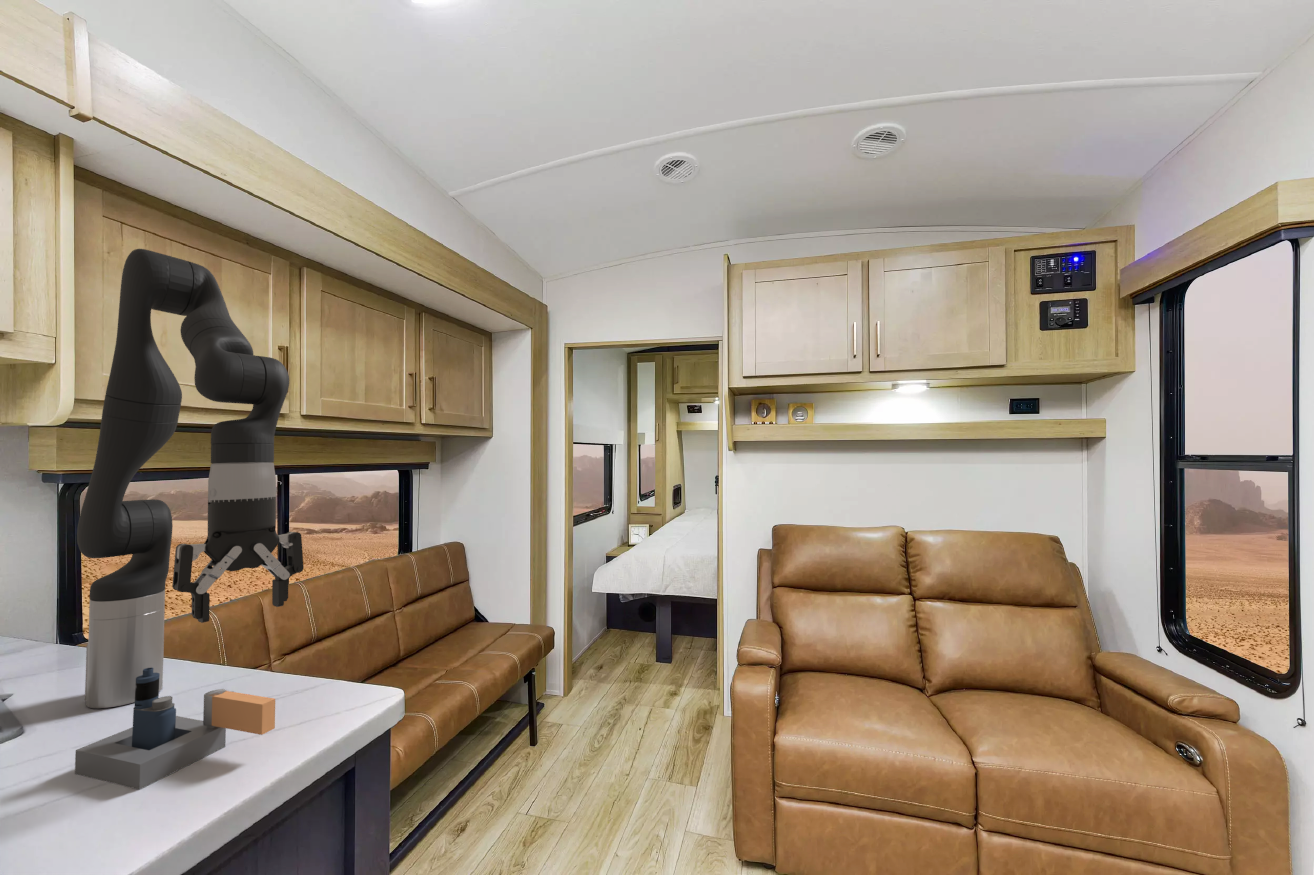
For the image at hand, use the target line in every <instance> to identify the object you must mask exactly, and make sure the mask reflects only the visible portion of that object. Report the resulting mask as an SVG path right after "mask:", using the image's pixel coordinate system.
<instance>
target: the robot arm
mask: <svg viewBox="0 0 1314 875" xmlns="http://www.w3.org/2000/svg"><path fill="white" fill-rule="evenodd" d="M124 262H125V263H124V265H123V269H122V273H121V279H120V280H121V282H120V292H119V306H118V319H117V328H116V329H117V330H116V338H115V345H114V353H113V355H112V356H113V357H112V362H111V367H110V373H109V378H108V382H107V386H106V390H105V395H104V400H103V405H102V406H103V407H102V412H101V419H100V428H99V429H100V430H99V436H98V443H97V449H96V455H95V460H94V463H93V464H94V465H93V468H92V473H91V476H90V480H89V482H88V486H87V489H86V493H85V497H84V500H83V503H82V507H81V510H80V514H79V518H78V522H77V523H78V524H77V528H76V540H77V541H76V542H77V543H76V544H77V545H78V546H77V547H78V549H79V551H80V553H81V554H82V555H83V556H84V557H86V558H88V559H105V558H107V559H108V558H115V557H122V556H129V555H132V556H131V558H130V559H129V561H128V562H127V563H125V564H124V565H123V566H122V567H120V568H118V569H117V570H115V571H113V572H111V573H109V574H106V575H104V576H102V577H100V578H97V579H96V580H94V581H93V582H92V583H91V584H90V587H89V603H88V605H89V608H88V610H89V611H88V641H87V642H88V643H87V644H86V651H85V652H86V653H85V654H86V655H85V680H84V681H85V683H84V684H85V685H84V701H86V702H85V704H86V707H87V708H90V709H107V708H113V707H120V706H124V705H128V704H132V703H135V686H136V684H137V683H136V678H137V677H138V676H140V675H143V669H146V668H151V667H152V668H153V673H159V674H160V676H159V692H160V691H161V690H163V684H164V680H163V678H164V653H165V652H164V651H165V650H164V649H165V648H164V647H165V645H164V644H165V615H166V614H165V612H166V611H165V608H166V606H165V605H166V604H165V602H166V599H165V598H166V582H167V579H168V576H169V575H168V574H169V570H170V560H171V558H170V557H171V548H172V540H173V539H172V538H173V525H174V524H173V516H172V512H171V509H170V507H169V506H168V504H167V503H166V502H165V501H163V500H160V499H152V498H151V499H136V500H124V497H125V494H126V492H127V489H128V487H129V485H130V483H131V481H132V480H133V478H134V476H135V475H136V474H137V473H138V471H140V469H142V467H143V466H144V465H145V464H146V463H147V462H148V461H149V460H150V459H151V458H152V457H153V456H155V454H157V453H158V451H159V450H160V449H162V448H163V446H165V445H166V444H167V443H168V442H169V440H170V439H171V438H172V437H173V435H174V434H175V432H176V429H177V427H178V422H179V418H180V411H181V406H182V402H183V401H182V399H183V392H182V388H181V386H180V384H179V382H178V380H177V378H176V376H175V374H174V372H173V371H172V369H171V368H170V366H169V365H168V363H167V361H166V360H165V358H164V357H163V355H162V353H161V351H160V349H159V347H158V344H157V343H156V340H155V338H154V334H153V329H152V322H151V319H152V318H151V316H152V315H151V314H152V310H154V311H158V312H163V313H169V314H173V315H178V316H184V319H183V320H182V322H181V326H180V329H179V330H180V336H181V340H182V342H183V344H184V346H185V347H186V349H187V350H188V351H189V353H190V354H191V356H192V358H193V360H194V363H195V364H194V365H195V368H194V369H195V370H194V379H193V380H194V385H195V389H196V391H197V392H198V393H199V394H200V395H201V396H203V397H204V398H205V399H208V400H210V401H212V402H216V403H225V404H226V403H227V404H242V405H252V409H251V410H250V412H249V413H248V415H247V416H246V417H243V418H239V419H230V420H223V421H219V422H217V423H215V424H214V425H213V426H212V428H211V433H210V469H209V475H208V479H207V480H208V481H207V537H206V539H205V541H204V543H195V544H194V543H193V544H187V543H179V544H177V545H176V547H175V553H174V565H173V575H172V585H171V587H172V589H173V590H174V591H178V592H180V593H190V594H191V615H192V618H193V619H195V620H197V622H198V623H201V624H203V623H204V624H205V623H207V622H210V601H211V600H210V599H211V598H210V596H211V595H210V593H209V592H208V590H209V589H210V588H211V587H212V586H213V585H214V583H215V582H216V581H217V580H218V579H220V578H221V577H222V575H223V574H224V573H225V572H237V571H241V570H243V569H257V568H259V567H261V566H262V567H263V568H264V569H266V571H268V572H269V574H271V575H272V576H273V577H274V579H272V584H271V585H272V586H271V587H272V590H271V592H272V593H271V594H272V595H271V596H272V597H271V598H272V600H271V602H272V606H273V607H276V608H278V607H284V604H285V602H287V601H288V599H289V580H290V578H291V577H292V576H294V575H296V574H299V573H302V572H303V571H304V554H303V540H302V539H303V538H302V533H300V532H297V531H296V532H295V531H288V532H286V533H282V534H278V533H277V530H276V528H277V506H276V505H277V493H278V487H277V478H276V476H277V475H276V470H275V463H274V462H275V433H276V429H277V426H278V421H279V418H280V415H281V411H282V407H283V406H284V403H285V400H286V398H287V394H288V390H289V388H290V387H289V386H290V375H289V372H288V369H287V368H286V366H285V365H284V364H283V363H282V362H281V361H280V360H278V359H276V358H273V357H269V356H262V355H261V356H260V355H254V349H253V346H252V344H251V342H249V340H248V339H247V337H246V336H245V335H244V333H243V332H242V331H241V329H239V327H238V326H237V324H236V323H235V322H234V321H233V319H232V318H231V316H230V313H229V310H228V307H227V304H226V301H225V299H224V296H223V294H222V291H221V289H220V286H219V283H218V281H217V280H216V278H215V276H214V274H213V273H212V272H211V270H209V269H208V268H206V267H205V266H203V265H200V264H199V263H196V262H193V261H189V260H185V259H182V258H178V257H174V256H172V255H168V254H163V253H161V252H158V251H157V252H156V251H152V250H150V249H145V248H137V249H136V248H135V249H133V250H132V251H130V253H129V254H128V256H127V257H126V260H125V261H124ZM279 543H280V544H281V546H282V547H283V548H285V549H286V550H285V551H286V552H285V553H286V564H287V565H286V566H285V567H284V565H282V562H280V561H279V559H277V558H276V557H275V556H274V555H273V552H274V550H275V549H276V548H277V546H278V545H279ZM201 553H204V554H206V556H207V557H209V559H210V561H209V562H208V563H207V564H206V566H205V567H204V568H203V569H202V570H201V573H200V574H199V576H198V577H197V578H196V579H195V580H194V581H191V580H192V579H191V578H192V571H193V570H192V569H193V567H192V566H193V562H194V561H196V560H198V558H199V556H200V554H201ZM136 688H137V687H136Z"/></svg>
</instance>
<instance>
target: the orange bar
mask: <svg viewBox="0 0 1314 875" xmlns="http://www.w3.org/2000/svg"><path fill="white" fill-rule="evenodd" d="M202 713H203V715H202V716H203V717H202V718H203V720H202V721H203V725H204V726H217V727H222V728H226V730H227V729H228V730H234V731H238V732H245V733H250V734H255V735H260V736H263V735H265V734H267V733H268V732H270V731H272V730H274V729H275V728H276V698H273V697H266V696H260V695H254V694H247V693H242V692H236V691H230V690H227V689H226V688H220V689H214V690H209V691H208V692H206V693H204V694H203V712H202Z"/></svg>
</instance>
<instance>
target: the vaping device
mask: <svg viewBox="0 0 1314 875" xmlns="http://www.w3.org/2000/svg"><path fill="white" fill-rule="evenodd" d="M159 676H160V674H159V673H153V668H152V667H151V668H146V669H143V675H140V676H138V677H137V678H136V683H137V684H136V686H135V702H134V707H133V711H132V712H133V714H132V727H133V731H132V747H135V748H140V749H144V750H151V749H154V748H156V747H158V746H160V745H163V744H165V743H167V742H169V741H171V740H174V739H175V725H176V716H177V708H176V707H175V703H174V702H173V696H170V695H169V696H168V695H167V696H162V697H161V696H159V694H160V693H159V692H160V691H159ZM136 687H137V688H136Z"/></svg>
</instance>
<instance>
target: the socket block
mask: <svg viewBox="0 0 1314 875" xmlns="http://www.w3.org/2000/svg"><path fill="white" fill-rule="evenodd" d="M226 730H227V728H222V727H217V726H204V725H203V720H200V719H195V718H190V717H184V716H178V715H176V725H175V739H174V740H171V741H169V742H167V743H165V744H163V745H160V746H158V747H156V748H154V749H151V750H144V749H140V748H135V747H132V731H133V726H132V727H130V728H127V729H124V730H122V731H120V732H117V733H115V734H112V735H110V736H107V737H105V738H102V739H100V740H97V741H95V742H92V743H89V744H88V745H85V746H83V747H80V748H78V749H75V757H74V775H79V776H83V777H86V778H90V779H94V780H99V781H103V782H108V783H110V784H111V783H112V784H115V785H119V786H124V787H127V788H131V789H134V790H135V789H136V790H142V789H144V788H146V787H147V786H150V785H151V784H154V783H155V782H157V781H160V780H162V779H164V778H165V777H167V776H170V775H171V774H173V773H176V772H178V771H179V770H181V769H184V768H185V767H188V766H190V765H191V764H193V763H196V762H197V761H199V760H202V759H204V758H205V757H207V756H209V755H212V754H214V753H216V752H218V751H220V750H221V749H224V748H225V747H226V734H227V733H226V732H227V731H226Z"/></svg>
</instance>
